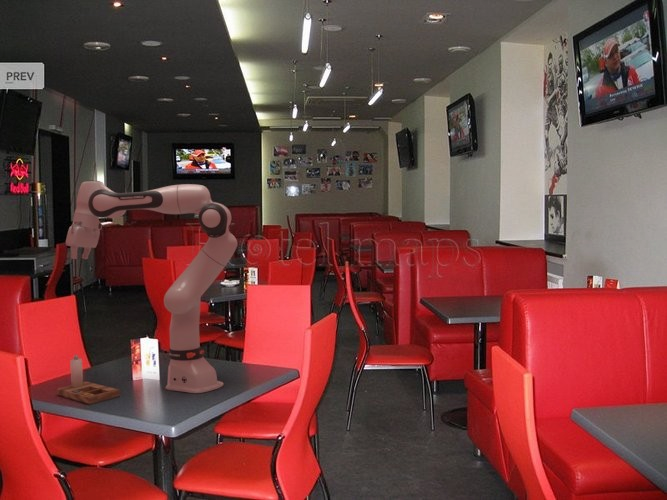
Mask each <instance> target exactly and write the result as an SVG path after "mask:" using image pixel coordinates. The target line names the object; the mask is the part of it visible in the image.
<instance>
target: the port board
mask: <svg viewBox="0 0 667 500" xmlns="http://www.w3.org/2000/svg"><path fill="white" fill-rule="evenodd" d="M56 395H57V396H58V397H61V398H64V399H68V400H71V401H74V402H78V403H81V404H85V405H89V406H90V405H94V404H99V403H101V402H105V401H108V400H113V399H116V398H120V397H121V393H120V389H118V388H114V387H109V386H106V385H101V384H98V383H94V382H91V381H83V387H79V388H72V385H68V386H67V385H66V386H63V387H59V388H56Z"/></svg>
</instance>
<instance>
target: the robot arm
mask: <svg viewBox="0 0 667 500" xmlns="http://www.w3.org/2000/svg"><path fill="white" fill-rule="evenodd" d="M77 193H78V194H77V195H76V196H77V198H76V208H75V210H74V214H73V219H72V224H71V226H69V228H68V231H67V234H66V239H65V246H68V247H70V259H71V260H72V259H73V260H77V259H78V249H79V248H83V253H82V254H81V259H83V260H88V258H89V255H90V252H91V250H92V249H95V248H97V245H98V244H99V239H100V236H101V235H100V234H101V231H100V230H102V229H103V224H102V223H101V222H100V220H99V219H100V218H108V219H118V218H121V217H123V216H124V215H125V214H126V212H127V211H133V210H148V211H153V212H155V213H157V212H158V213H161V214H166V215H184V214H196V215H198V218H197V219H198V220H197V221H198V223H199V225H200V227H201V228H202V230H203V231H204V233H205V234H206V235H207V237H208V239H207V240H206V243H204V244H203V246H202V248H201V249H200V250H199V252H198V253H197V254H196V256H195V257H194V258H193V259H192V261H191V262H190V263H189V265H188V266H187V267H186V268H185V269H184V270H183V271H182V273H181V274H180V275H179V276H178V277H177V278H176V279H175V281H174V282H173V283H172V284H171V286H170V287H169V288H168V289H167V291H166V293H165V294H164V295H163V296H164V297H163V305H164V308H165V309H166V310H167V311H168V312H169V313H171V314H170V315H171V317H170V323H169V327H168V328H169V347H170V348H169V349H168V357H169V359H170V361H169V364H168V368H167V369H168V370H167V384H166V385H165V390H168V391H176V392H183V393H184V392H185V393H190V394H201V393H206V392H211V391H214V390H217V389H220V388H221V387H223V386H224V382H223V381H220V380H218V377H217V376H218V375H217V371H216V369H215V368H214V366H212V365H211V364H210V363H209V362H208V361H207V360H206V359H205V357H204V353H205V350H202V347H201V345H200V341H201V340H200V317H201V297H202V296H203V295H204V293H205V292H206V291H207V290H208V289H209V288H210V287H211V285H212V284H213V283H214V281H215V280H216V279H217V278H218V277H219V275H220V274H221V272H222V271H223V270H224V268H225V267H226V266H227V264H228V263H229V262H230V260H231V259H232V258H233V255H234V253H235V251H236V250H237V248H238V240H237V238H236V237H235V235H233V233H231V231H230V230H229V228H230V226H231V225H232V224H233V213H232V211H231V210H230V208H229V207H227V206H226V205H225V204H223V203H220V202H218V201H216V200H212V197H211V193H210V190H209V189H208V188H207V186H204V185H201V184H194V183H192V184H190V183H187V184H186V183H185V184H184V183H182V184H174V185H173V184H172V185H168V186H163V187H159V188H155V189H150V190H146V191H145V190H144V191H135V192H121V193H120V192H115V191H114V190H111V188H109V187H107V186H106V185H105V184H104V183H103V181H101V180H84V181H83V182H82V183H81V184H80V186H79V189H78V192H77Z"/></svg>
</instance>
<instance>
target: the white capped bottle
mask: <svg viewBox="0 0 667 500" xmlns="http://www.w3.org/2000/svg"><path fill="white" fill-rule="evenodd" d="M69 362H70V363H69V365H70V381H71V385H72V388H79V387H83V382H84V378H83V377H84V375H83V373H84V372H83V359H82V358H80V357H79V355H78V354H74V355H73V358H72V359H69ZM71 385H70V386H71Z"/></svg>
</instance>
